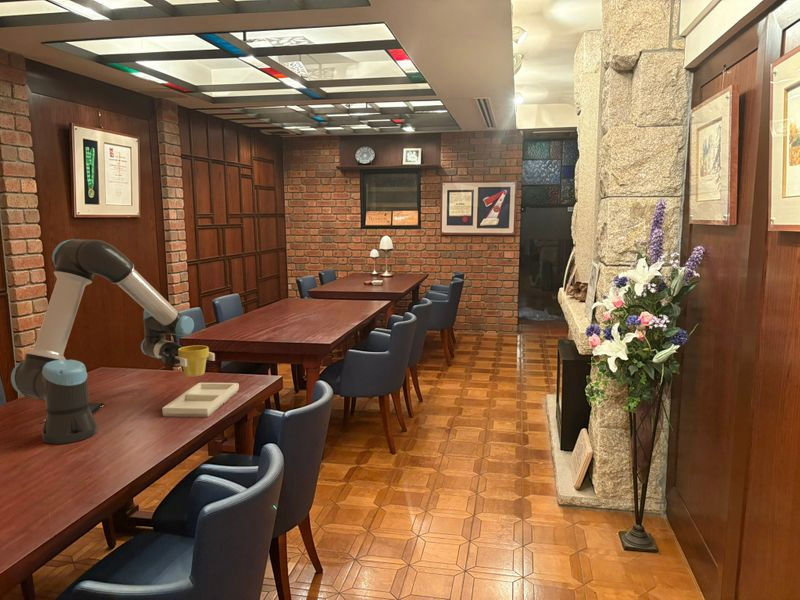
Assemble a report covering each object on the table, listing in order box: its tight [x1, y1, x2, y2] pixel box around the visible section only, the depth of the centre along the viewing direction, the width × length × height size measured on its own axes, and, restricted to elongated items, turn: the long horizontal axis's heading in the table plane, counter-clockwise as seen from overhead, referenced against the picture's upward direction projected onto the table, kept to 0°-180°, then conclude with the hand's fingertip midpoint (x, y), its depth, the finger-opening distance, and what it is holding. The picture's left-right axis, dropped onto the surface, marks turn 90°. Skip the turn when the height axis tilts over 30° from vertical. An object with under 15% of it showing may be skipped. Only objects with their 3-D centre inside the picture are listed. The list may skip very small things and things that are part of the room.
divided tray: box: [161, 382, 240, 418], centre depth 212 cm, size 31×16×3 cm, turn 176°
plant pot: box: [178, 345, 210, 377], centre depth 207 cm, size 10×10×10 cm
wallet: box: [38, 402, 106, 425], centre depth 201 cm, size 20×2×15 cm
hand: (200, 359), depth 204 cm, fingers closed on plant pot, 10 cm apart
